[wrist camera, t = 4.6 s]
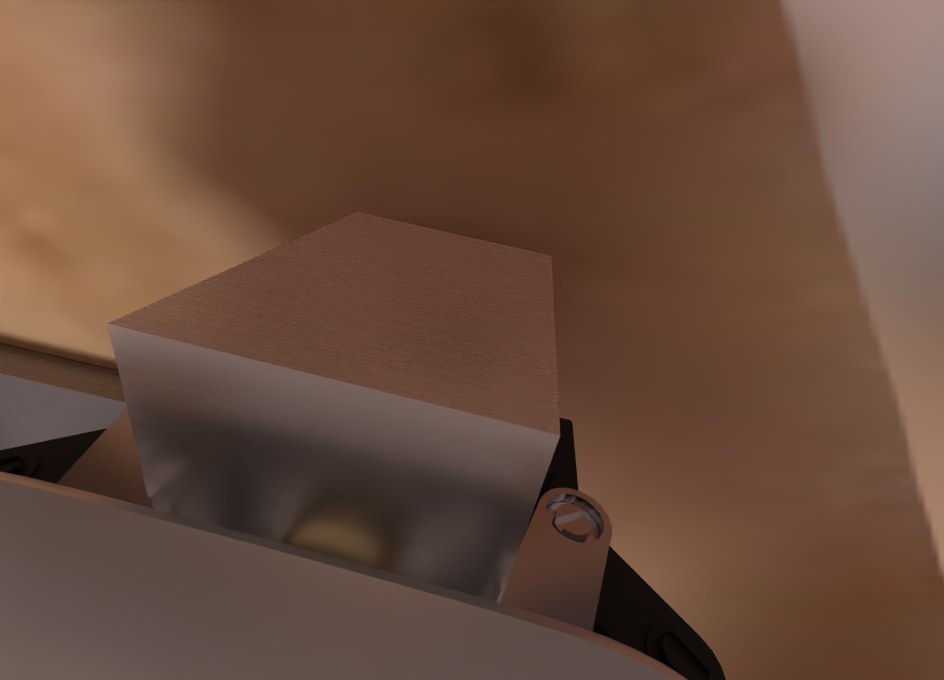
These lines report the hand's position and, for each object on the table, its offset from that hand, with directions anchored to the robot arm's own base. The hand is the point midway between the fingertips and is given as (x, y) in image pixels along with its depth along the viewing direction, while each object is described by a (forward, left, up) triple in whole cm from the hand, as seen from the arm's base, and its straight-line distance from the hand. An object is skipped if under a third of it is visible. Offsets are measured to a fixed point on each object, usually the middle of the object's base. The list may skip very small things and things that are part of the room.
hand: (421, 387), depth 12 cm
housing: (0, 0, -1) cm, 1 cm away
